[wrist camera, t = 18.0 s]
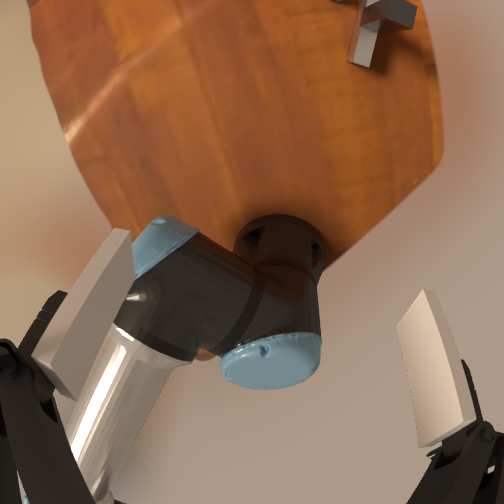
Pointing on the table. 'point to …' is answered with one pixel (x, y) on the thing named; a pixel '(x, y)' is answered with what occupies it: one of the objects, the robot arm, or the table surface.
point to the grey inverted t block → (377, 26)
